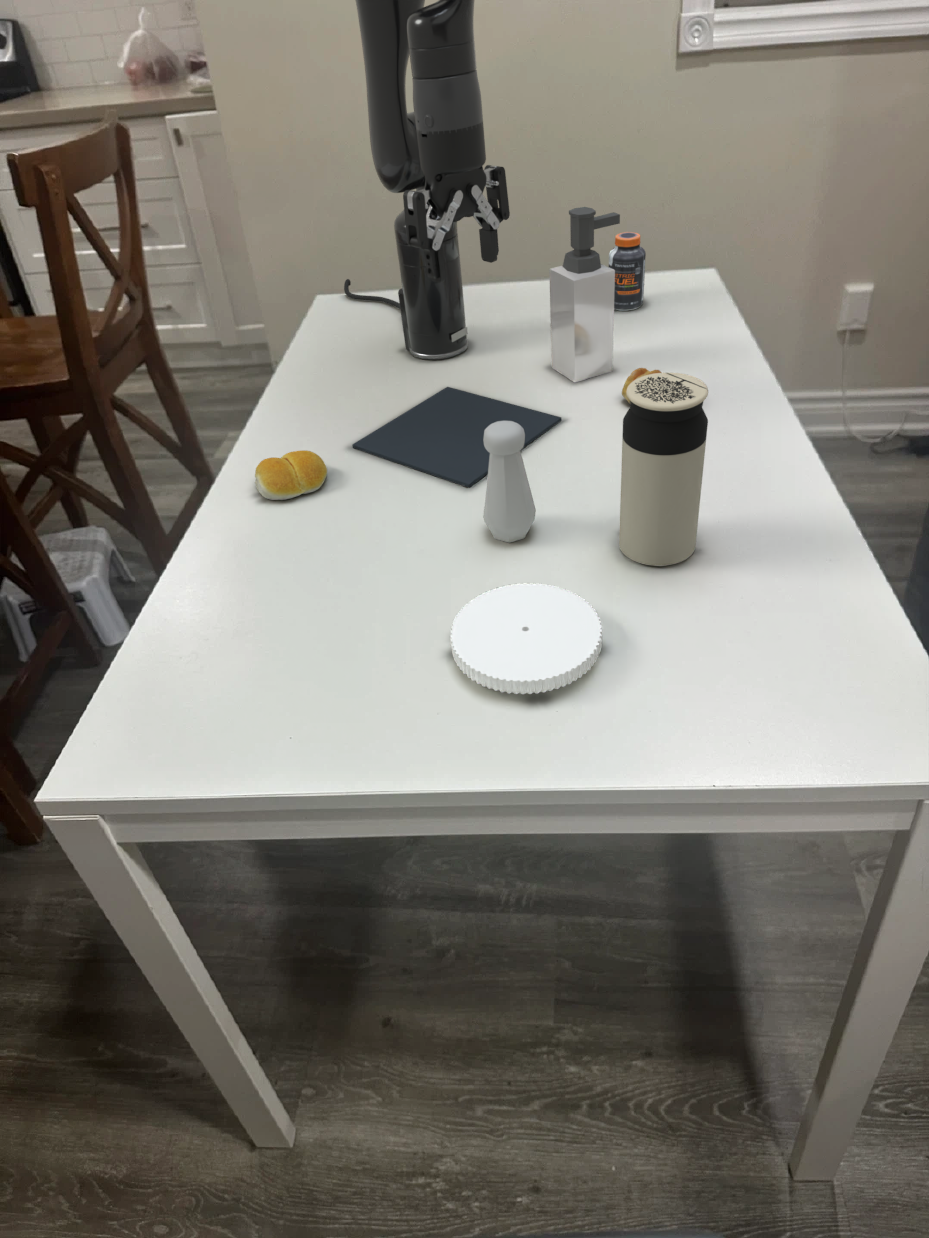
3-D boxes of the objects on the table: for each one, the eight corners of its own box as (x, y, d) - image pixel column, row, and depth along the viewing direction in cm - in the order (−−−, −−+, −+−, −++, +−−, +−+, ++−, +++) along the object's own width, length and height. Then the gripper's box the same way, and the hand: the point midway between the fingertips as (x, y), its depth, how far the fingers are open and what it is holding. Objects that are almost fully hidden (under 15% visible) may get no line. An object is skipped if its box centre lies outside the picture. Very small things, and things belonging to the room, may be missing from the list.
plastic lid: (448, 704, 77) (445, 683, 75) (456, 605, 87) (454, 585, 86) (607, 700, 75) (607, 679, 74) (596, 600, 86) (596, 580, 85)
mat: (352, 447, 115) (351, 444, 115) (447, 389, 127) (447, 386, 126) (468, 488, 105) (468, 484, 105) (561, 420, 116) (561, 417, 116)
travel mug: (649, 577, 88) (658, 416, 77) (604, 541, 94) (607, 385, 82) (711, 552, 91) (729, 391, 79) (663, 517, 96) (674, 363, 85)
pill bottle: (606, 312, 144) (608, 241, 137) (608, 299, 149) (609, 230, 142) (643, 311, 143) (646, 239, 136) (643, 298, 148) (646, 228, 141)
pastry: (702, 402, 117) (705, 376, 114) (673, 422, 113) (675, 395, 111) (645, 385, 122) (646, 359, 120) (615, 403, 119) (616, 377, 116)
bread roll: (337, 486, 108) (331, 458, 105) (269, 509, 105) (261, 480, 103) (315, 460, 114) (309, 432, 111) (250, 480, 111) (242, 453, 108)
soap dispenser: (625, 367, 127) (631, 207, 113) (574, 382, 125) (573, 221, 111) (601, 352, 132) (603, 197, 118) (551, 367, 129) (547, 211, 115)
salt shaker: (542, 521, 98) (538, 415, 90) (528, 549, 94) (523, 442, 86) (493, 515, 100) (485, 412, 91) (477, 543, 96) (467, 437, 87)
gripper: (474, 107, 102) (485, 251, 112) (378, 132, 95) (400, 282, 105) (518, 110, 97) (526, 259, 107) (421, 136, 90) (439, 293, 100)
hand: (464, 271), depth 106 cm, fingers open, 8 cm apart
